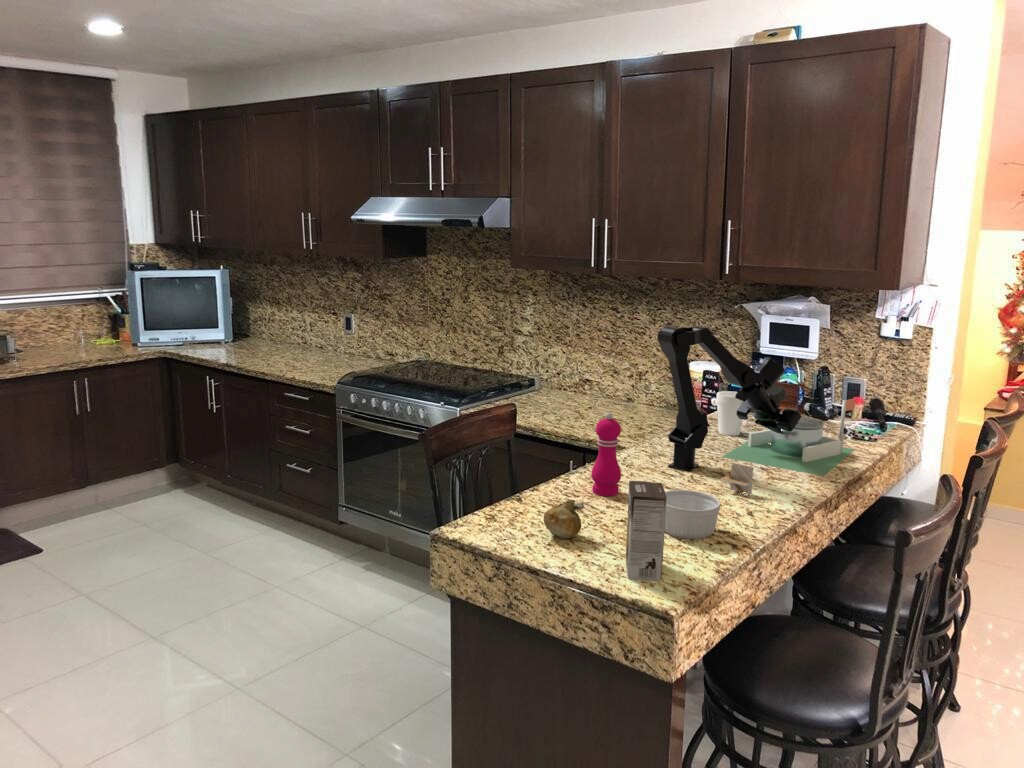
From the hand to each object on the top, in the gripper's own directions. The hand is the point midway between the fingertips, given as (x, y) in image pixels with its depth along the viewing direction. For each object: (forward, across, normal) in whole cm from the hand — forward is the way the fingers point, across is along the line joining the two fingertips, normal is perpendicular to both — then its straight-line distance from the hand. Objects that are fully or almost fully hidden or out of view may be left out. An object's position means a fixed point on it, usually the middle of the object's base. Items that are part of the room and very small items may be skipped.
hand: (779, 431), depth 231 cm
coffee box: (-60, -40, +70) cm, 100 cm away
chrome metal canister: (+10, -1, -1) cm, 10 cm away
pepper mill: (-43, -1, +52) cm, 68 cm away
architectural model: (-22, -18, +32) cm, 43 cm away
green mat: (+7, -2, +2) cm, 8 cm away
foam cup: (+10, +24, 0) cm, 26 cm away
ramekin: (-44, -29, +54) cm, 75 cm away
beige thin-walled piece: (+12, 0, -3) cm, 12 cm away
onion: (-62, -18, +71) cm, 96 cm away
